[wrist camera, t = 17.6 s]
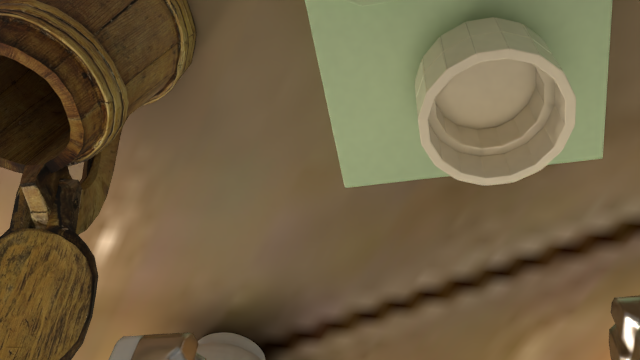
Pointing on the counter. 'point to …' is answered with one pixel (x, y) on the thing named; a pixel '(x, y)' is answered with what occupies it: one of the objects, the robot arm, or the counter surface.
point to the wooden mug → (70, 147)
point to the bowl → (492, 102)
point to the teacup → (228, 347)
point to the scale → (404, 60)
